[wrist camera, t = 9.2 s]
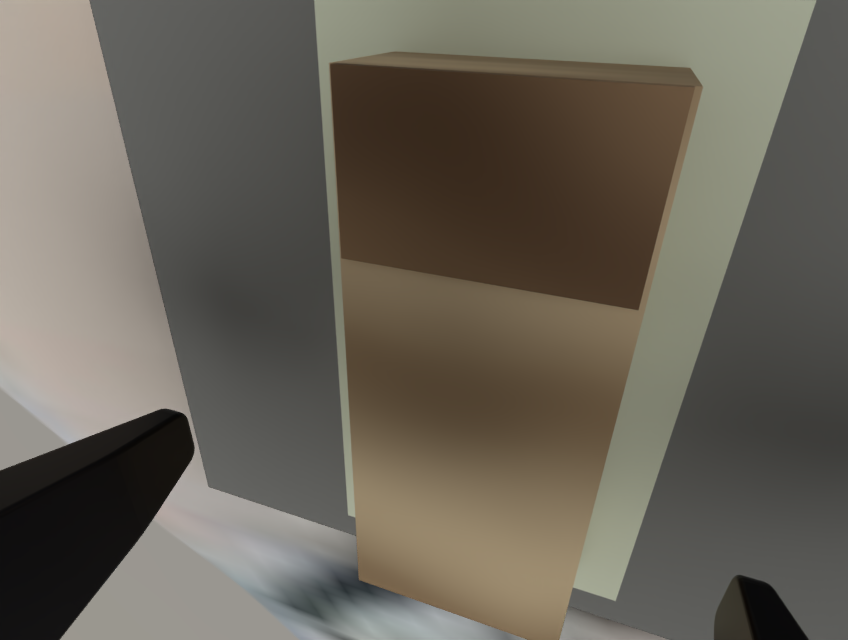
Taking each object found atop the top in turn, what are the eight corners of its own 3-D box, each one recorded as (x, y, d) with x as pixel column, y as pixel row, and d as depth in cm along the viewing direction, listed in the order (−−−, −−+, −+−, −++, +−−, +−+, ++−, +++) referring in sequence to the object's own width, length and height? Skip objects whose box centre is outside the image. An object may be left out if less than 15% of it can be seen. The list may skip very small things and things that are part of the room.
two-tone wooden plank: (569, 559, 15) (555, 656, 12) (396, 506, 16) (356, 585, 14) (690, 67, 9) (704, 87, 6) (394, 51, 10) (323, 63, 8)
